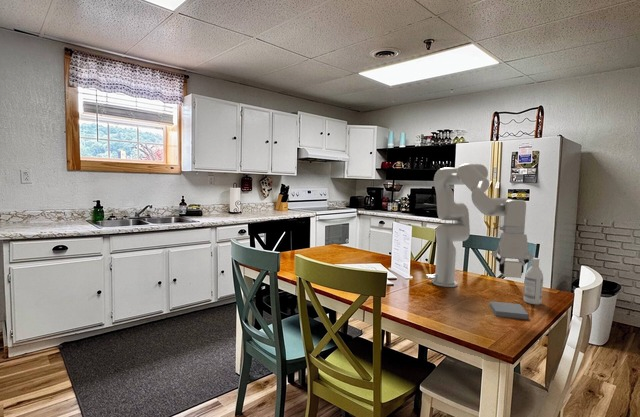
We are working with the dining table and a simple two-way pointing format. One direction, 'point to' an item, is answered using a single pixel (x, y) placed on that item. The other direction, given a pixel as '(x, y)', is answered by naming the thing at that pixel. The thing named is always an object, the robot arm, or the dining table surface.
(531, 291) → the bath foam
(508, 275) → the block
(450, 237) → the robot arm
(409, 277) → the dining table surface
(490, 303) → the tile
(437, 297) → the dining table surface
